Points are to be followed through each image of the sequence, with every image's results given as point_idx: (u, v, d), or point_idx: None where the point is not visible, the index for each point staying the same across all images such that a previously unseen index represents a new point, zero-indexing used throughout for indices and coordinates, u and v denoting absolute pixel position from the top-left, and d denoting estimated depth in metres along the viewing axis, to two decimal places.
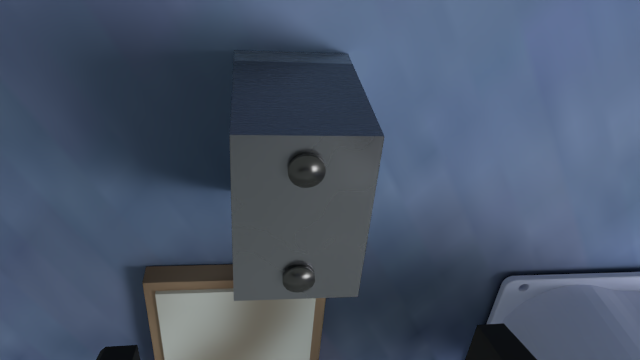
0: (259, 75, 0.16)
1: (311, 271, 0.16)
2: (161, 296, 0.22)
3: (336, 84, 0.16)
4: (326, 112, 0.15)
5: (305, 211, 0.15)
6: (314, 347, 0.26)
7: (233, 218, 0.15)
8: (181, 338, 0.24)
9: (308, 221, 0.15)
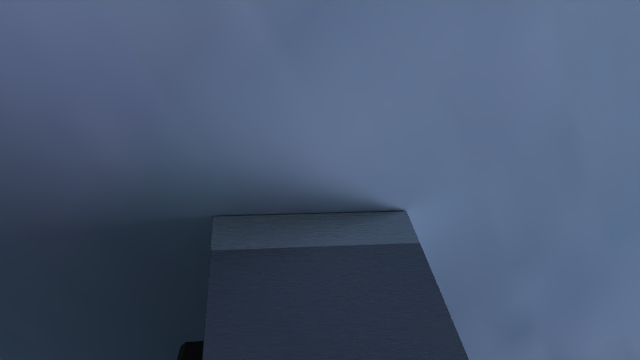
0: (257, 296, 0.09)
1: None
2: None
3: (402, 314, 0.09)
4: None
5: None
6: None
7: None
8: None
9: None
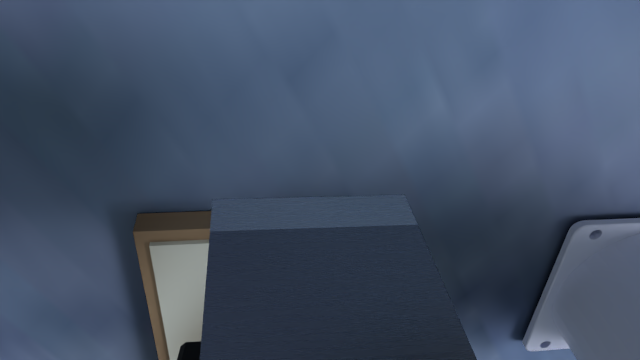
0: (256, 274, 0.09)
1: None
2: (157, 248, 0.18)
3: (400, 292, 0.09)
4: None
5: None
6: None
7: None
8: (183, 303, 0.20)
9: None
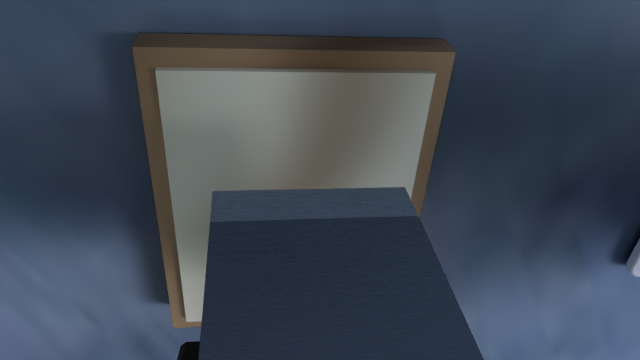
0: (256, 264, 0.09)
1: None
2: (166, 77, 0.13)
3: (400, 281, 0.09)
4: None
5: None
6: (414, 202, 0.16)
7: None
8: (201, 172, 0.14)
9: None
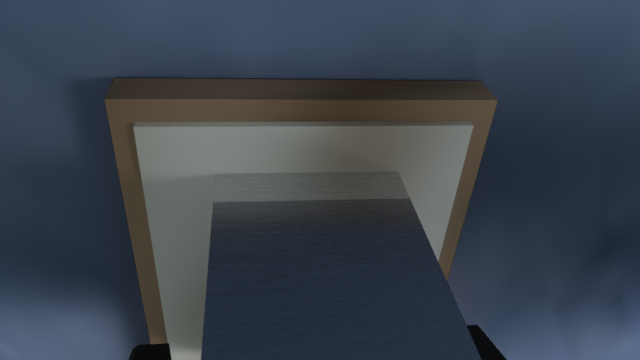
0: (256, 241, 0.09)
1: None
2: (147, 134, 0.10)
3: (392, 257, 0.09)
4: (385, 348, 0.08)
5: None
6: (441, 266, 0.14)
7: None
8: (191, 239, 0.12)
9: None
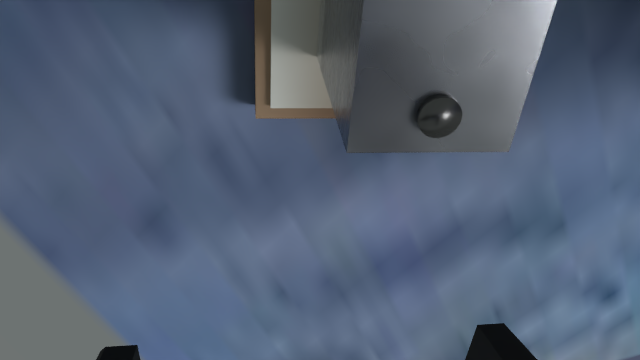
0: None
1: (458, 104, 0.12)
2: None
3: None
4: None
5: (466, 0, 0.10)
6: None
7: (365, 7, 0.10)
8: None
9: (466, 19, 0.11)
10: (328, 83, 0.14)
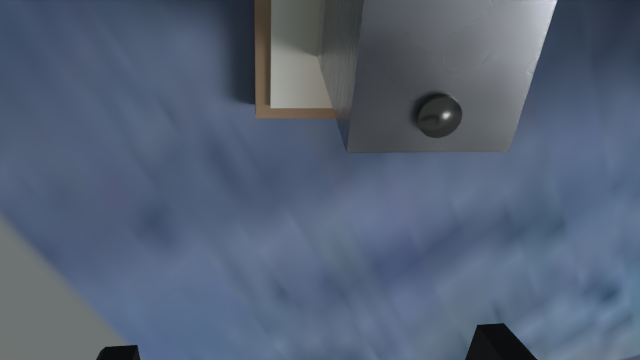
0: None
1: (458, 104, 0.12)
2: None
3: None
4: None
5: (466, 0, 0.10)
6: None
7: (365, 7, 0.10)
8: None
9: (466, 19, 0.11)
10: (328, 83, 0.14)
